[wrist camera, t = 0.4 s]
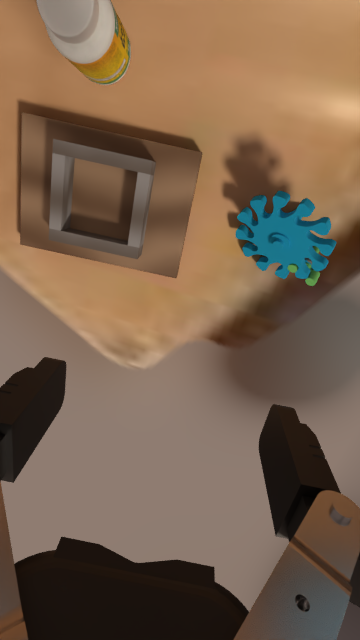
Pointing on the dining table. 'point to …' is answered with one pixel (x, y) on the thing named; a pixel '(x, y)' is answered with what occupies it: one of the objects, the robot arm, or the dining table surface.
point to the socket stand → (105, 195)
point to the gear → (286, 237)
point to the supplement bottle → (88, 37)
